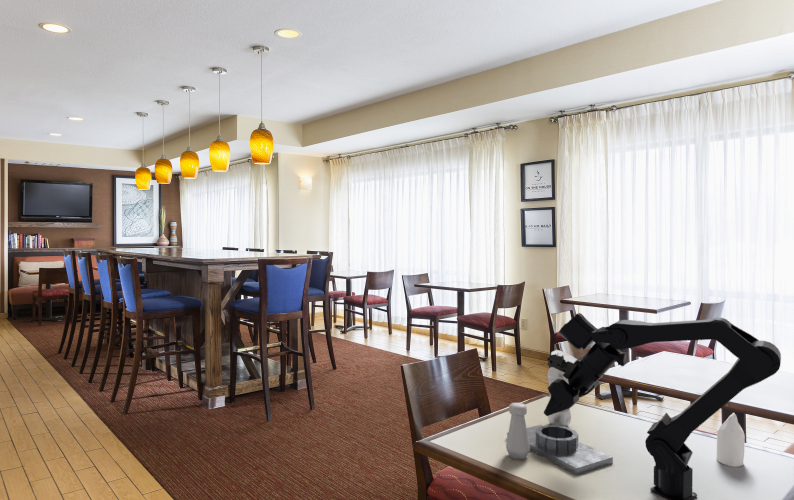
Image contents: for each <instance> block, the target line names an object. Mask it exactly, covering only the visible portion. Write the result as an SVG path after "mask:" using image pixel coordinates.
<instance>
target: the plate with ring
mask: <svg viewBox="0 0 794 500" xmlns="http://www.w3.org/2000/svg"><path fill="white" fill-rule="evenodd" d="M526 428H527V434H528V439H529V445H530V451H531V452H532V453H533V454H536V455H538V456H541V457H542V458H544V459H545V460H548V461H550V462H551V463H553V464H556V465H557V466H559V467H561V468H563V469H565V470H567V471H568V472H571V474H572V473H573V474H575V475H580V474H583V473H586V472H589V471H593V470H595V469H596V470H597V469H600V468H602V467H605V466H609V465H612V464H614V457H613V456H612V455H609V454H607V453H604V452H602V451H600V450H599V449H597V448H594V447H591V446H589V445H587V444H585V443H582V442H580V441H579V433H578V432H577V431H576V429H573V428H570V427H568V426H566V427H564V426H559V425H557V426H556V425H551V424H546V425H543V424H538V425H534V426H529V427H526ZM506 435H507V437H506V438H508V432H507V433H506ZM530 451H529V452H530Z"/></svg>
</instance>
